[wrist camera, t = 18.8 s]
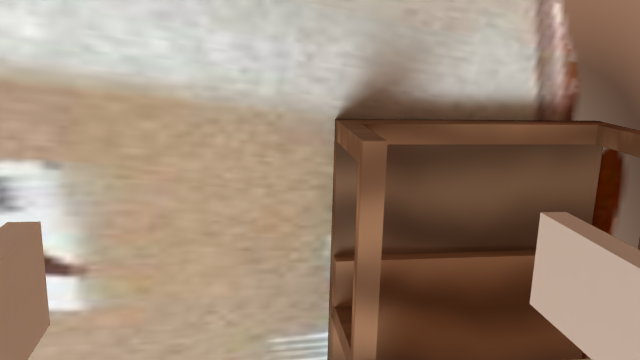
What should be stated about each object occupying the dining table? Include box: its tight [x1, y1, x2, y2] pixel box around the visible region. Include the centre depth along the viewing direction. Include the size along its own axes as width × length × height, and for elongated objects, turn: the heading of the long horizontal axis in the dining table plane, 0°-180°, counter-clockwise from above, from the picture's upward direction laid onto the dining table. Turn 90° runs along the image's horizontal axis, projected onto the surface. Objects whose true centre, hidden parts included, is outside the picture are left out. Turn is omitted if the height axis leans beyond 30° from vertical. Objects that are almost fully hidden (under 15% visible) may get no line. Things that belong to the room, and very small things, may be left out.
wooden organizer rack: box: [328, 119, 640, 360], centre depth 44 cm, size 30×22×10 cm
